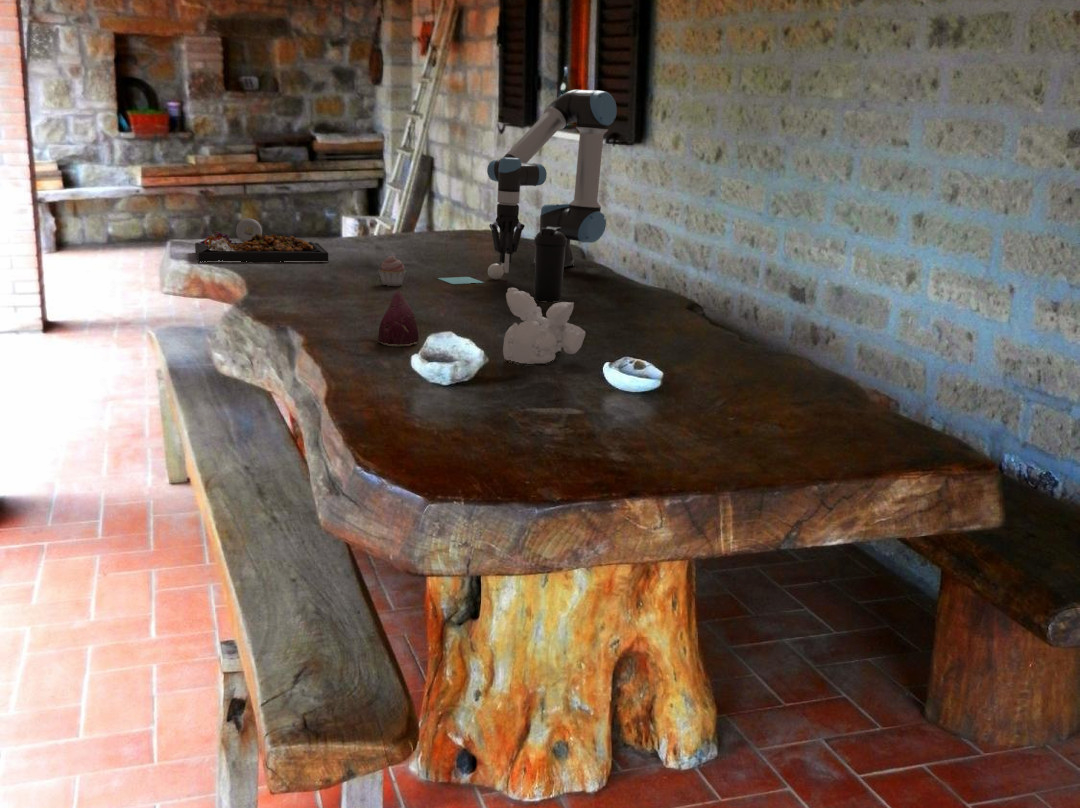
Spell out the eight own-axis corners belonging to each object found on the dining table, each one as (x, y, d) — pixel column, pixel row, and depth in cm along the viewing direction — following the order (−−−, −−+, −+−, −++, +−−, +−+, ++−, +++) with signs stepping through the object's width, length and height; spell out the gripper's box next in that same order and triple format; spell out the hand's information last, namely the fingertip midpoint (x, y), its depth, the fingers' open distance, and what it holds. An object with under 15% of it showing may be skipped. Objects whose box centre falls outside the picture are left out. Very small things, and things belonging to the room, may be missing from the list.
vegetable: (380, 350, 299) (374, 293, 298) (420, 346, 299) (414, 289, 299) (377, 349, 288) (371, 290, 288) (418, 345, 289) (412, 286, 288)
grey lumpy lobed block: (480, 327, 274) (516, 275, 285) (495, 385, 288) (528, 333, 299) (551, 342, 266) (585, 287, 278) (563, 401, 280) (594, 347, 292)
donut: (262, 243, 454) (261, 218, 451) (262, 244, 450) (262, 219, 448) (236, 243, 451) (235, 217, 449) (236, 244, 448) (235, 218, 445)
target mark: (468, 277, 398) (468, 276, 398) (484, 283, 388) (484, 282, 388) (437, 278, 392) (437, 278, 392) (452, 284, 382) (452, 283, 382)
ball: (501, 265, 400) (488, 260, 397) (508, 268, 395) (495, 262, 392) (495, 280, 400) (482, 274, 397) (502, 282, 396) (490, 277, 393)
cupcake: (412, 286, 376) (412, 255, 374) (390, 288, 370) (390, 257, 367) (394, 281, 382) (394, 252, 380) (372, 284, 376) (372, 253, 373)
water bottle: (567, 299, 366) (571, 227, 360) (557, 304, 356) (561, 230, 350) (537, 296, 369) (541, 224, 363) (527, 301, 360) (530, 227, 353)
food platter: (199, 265, 400) (198, 235, 398) (195, 254, 423) (194, 226, 420) (328, 264, 415) (328, 236, 412) (318, 254, 437) (318, 227, 434)
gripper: (519, 202, 398) (515, 270, 404) (486, 202, 392) (483, 271, 398) (530, 205, 392) (526, 273, 398) (496, 204, 385) (493, 274, 391)
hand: (504, 272), depth 398 cm, fingers closed
